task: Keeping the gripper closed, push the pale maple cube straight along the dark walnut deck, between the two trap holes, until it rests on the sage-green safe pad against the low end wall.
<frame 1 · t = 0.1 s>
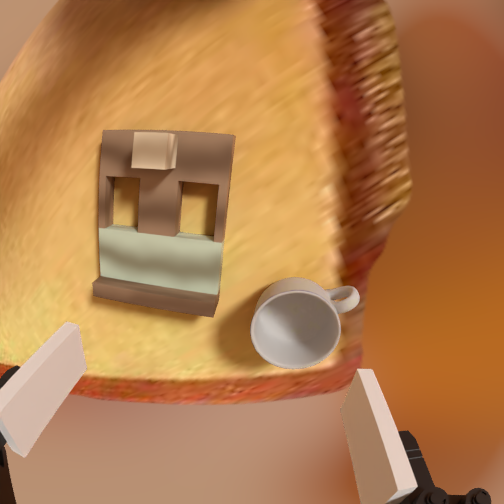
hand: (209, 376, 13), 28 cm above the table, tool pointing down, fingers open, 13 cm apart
teacup: (302, 299, 42), on the table
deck: (162, 215, 39), on the table
block: (161, 150, 34), point 2 cm above the table, touching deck
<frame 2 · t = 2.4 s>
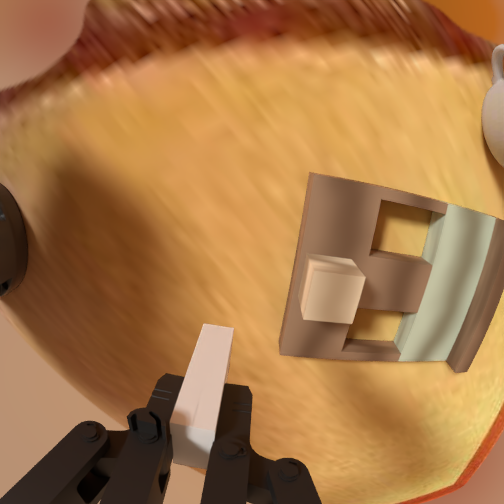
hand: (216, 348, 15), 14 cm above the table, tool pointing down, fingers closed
teacup: (496, 114, 23), on the table
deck: (398, 278, 28), on the table
block: (324, 278, 26), point 2 cm above the table, touching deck
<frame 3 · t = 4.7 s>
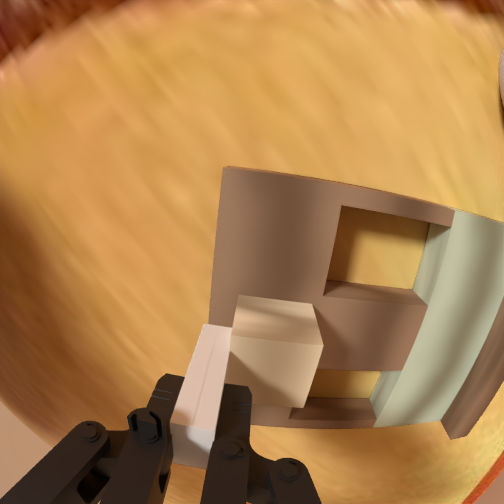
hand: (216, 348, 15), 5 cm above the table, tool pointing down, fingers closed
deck: (377, 320, 20), on the table
block: (269, 330, 17), point 3 cm above the table, touching gripper
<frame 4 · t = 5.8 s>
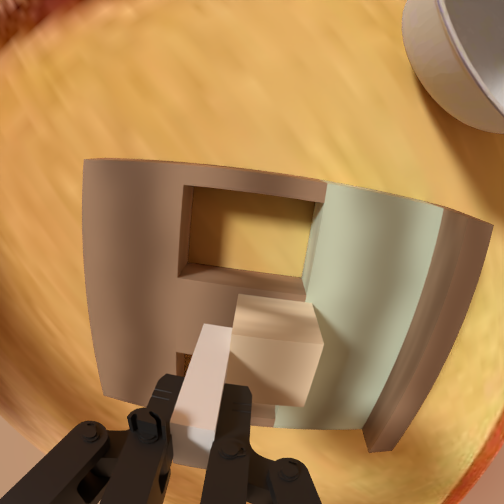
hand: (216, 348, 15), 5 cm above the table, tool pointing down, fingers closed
teacup: (441, 41, 14), on the table
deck: (263, 309, 19), on the table
block: (269, 329, 17), point 3 cm above the table, touching gripper
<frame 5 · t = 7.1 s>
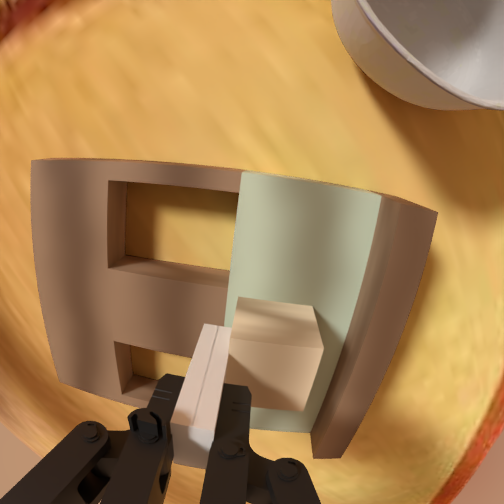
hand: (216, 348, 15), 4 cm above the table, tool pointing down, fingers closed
teacup: (389, 20, 13), on the table
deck: (197, 303, 19), on the table
block: (269, 332, 17), point 2 cm above the table, touching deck, gripper
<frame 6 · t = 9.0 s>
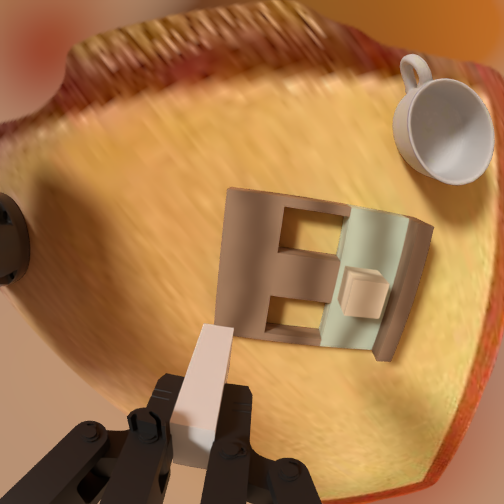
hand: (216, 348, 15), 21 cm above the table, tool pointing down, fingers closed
teacup: (417, 121, 30), on the table
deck: (315, 272, 36), on the table
block: (357, 284, 33), point 2 cm above the table, touching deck
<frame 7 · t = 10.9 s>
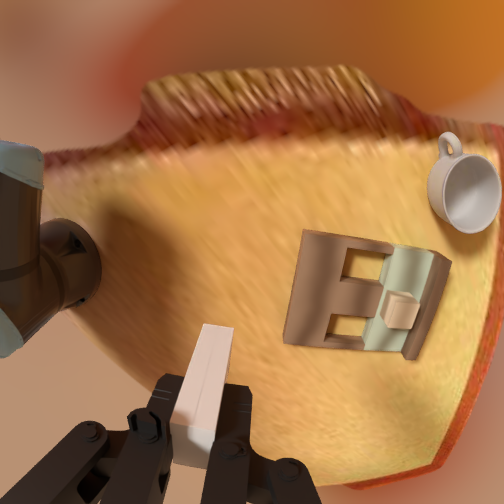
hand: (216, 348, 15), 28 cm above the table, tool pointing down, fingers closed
teacup: (443, 176, 39), on the table
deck: (362, 294, 44), on the table
block: (394, 303, 42), point 2 cm above the table, touching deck
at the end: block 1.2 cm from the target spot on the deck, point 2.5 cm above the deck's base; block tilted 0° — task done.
